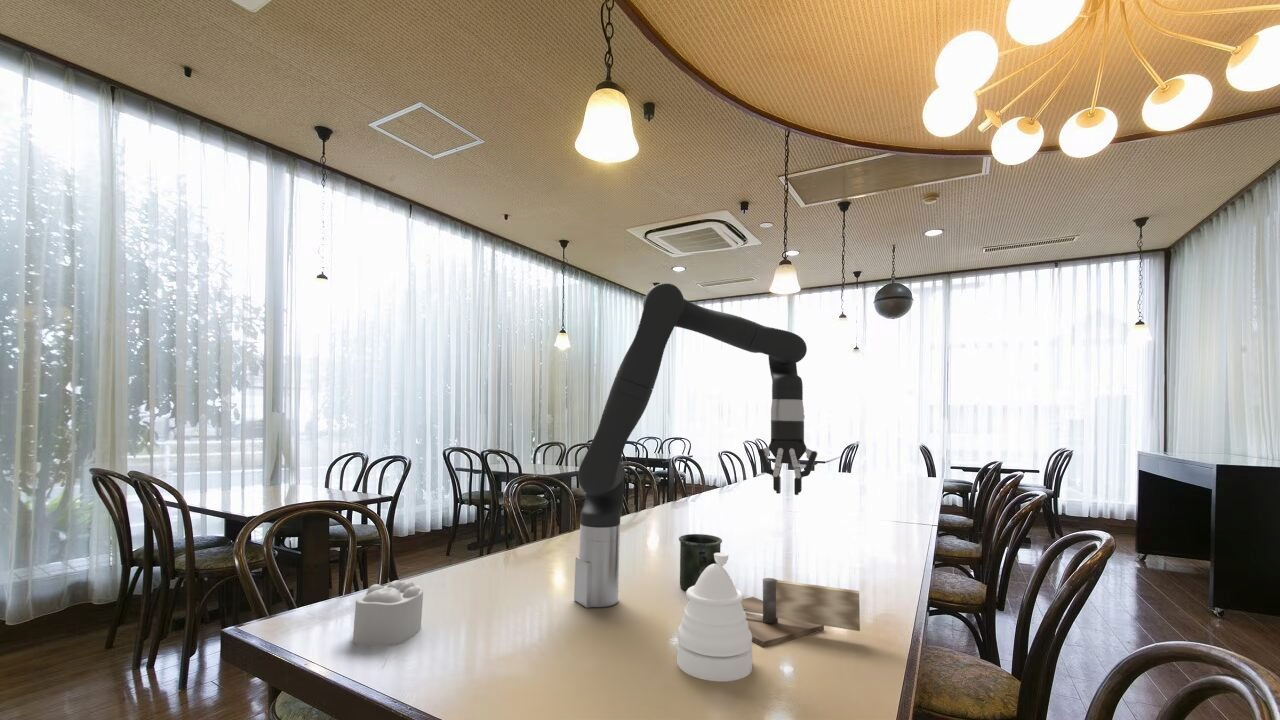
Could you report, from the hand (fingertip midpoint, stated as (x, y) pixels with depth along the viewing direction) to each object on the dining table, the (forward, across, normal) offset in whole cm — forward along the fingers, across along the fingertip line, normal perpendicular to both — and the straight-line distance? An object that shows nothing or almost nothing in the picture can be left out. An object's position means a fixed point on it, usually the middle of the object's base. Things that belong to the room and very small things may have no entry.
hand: (787, 493), depth 128 cm
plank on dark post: (+24, +1, -15) cm, 28 cm away
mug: (+25, -21, +2) cm, 33 cm away
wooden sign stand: (+25, -4, -13) cm, 29 cm away
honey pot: (+25, -7, -36) cm, 45 cm away
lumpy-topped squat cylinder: (+25, -67, -50) cm, 88 cm away
